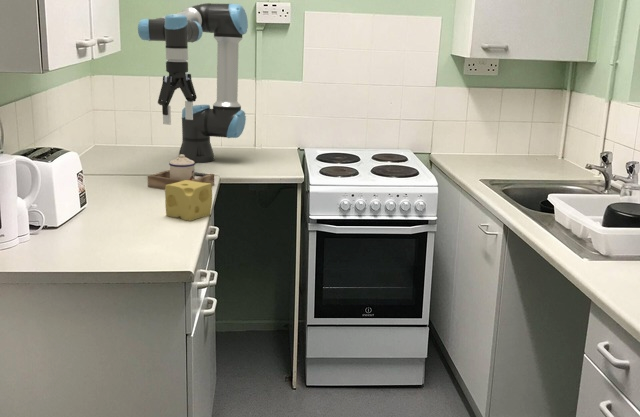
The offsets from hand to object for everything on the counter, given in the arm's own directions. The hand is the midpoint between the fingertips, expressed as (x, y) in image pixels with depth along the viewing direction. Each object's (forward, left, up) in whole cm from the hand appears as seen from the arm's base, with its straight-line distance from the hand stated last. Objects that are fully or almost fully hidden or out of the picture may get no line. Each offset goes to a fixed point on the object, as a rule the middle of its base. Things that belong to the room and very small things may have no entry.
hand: (178, 121), depth 248 cm
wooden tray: (+1, +2, -23) cm, 23 cm away
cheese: (+32, +26, -23) cm, 47 cm away
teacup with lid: (0, +1, -23) cm, 23 cm away
